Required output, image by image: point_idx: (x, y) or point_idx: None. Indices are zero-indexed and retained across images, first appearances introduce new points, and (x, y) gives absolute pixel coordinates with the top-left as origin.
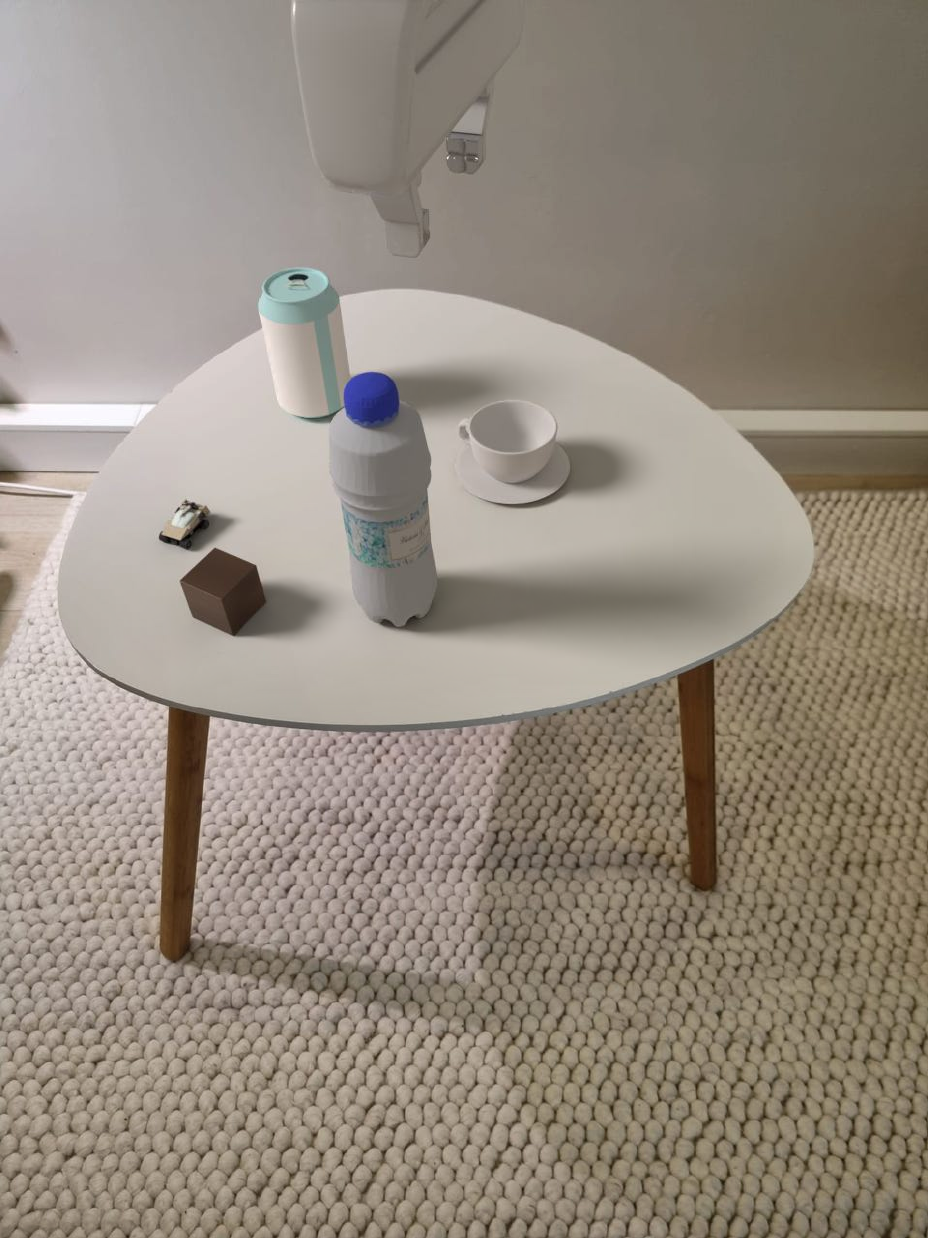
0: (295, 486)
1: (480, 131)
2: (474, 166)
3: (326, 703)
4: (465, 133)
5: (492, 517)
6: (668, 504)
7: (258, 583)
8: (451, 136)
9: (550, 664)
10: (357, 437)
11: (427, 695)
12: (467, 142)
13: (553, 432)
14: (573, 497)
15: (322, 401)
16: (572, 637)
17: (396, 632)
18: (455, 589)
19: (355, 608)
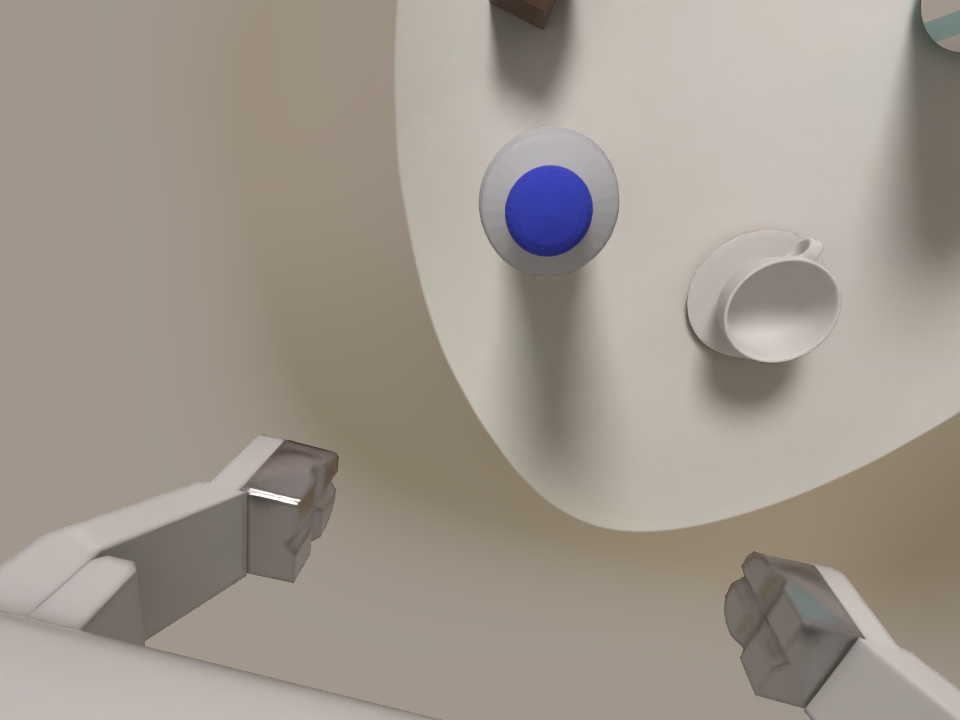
0: (759, 9)
1: (812, 714)
2: (730, 618)
3: (414, 138)
4: (830, 670)
5: (672, 278)
6: (678, 441)
7: (539, 18)
8: (815, 636)
9: (478, 336)
10: (501, 190)
11: (434, 234)
12: (767, 666)
13: (761, 358)
14: (698, 358)
15: (940, 9)
16: (508, 354)
17: None
18: None
19: None
